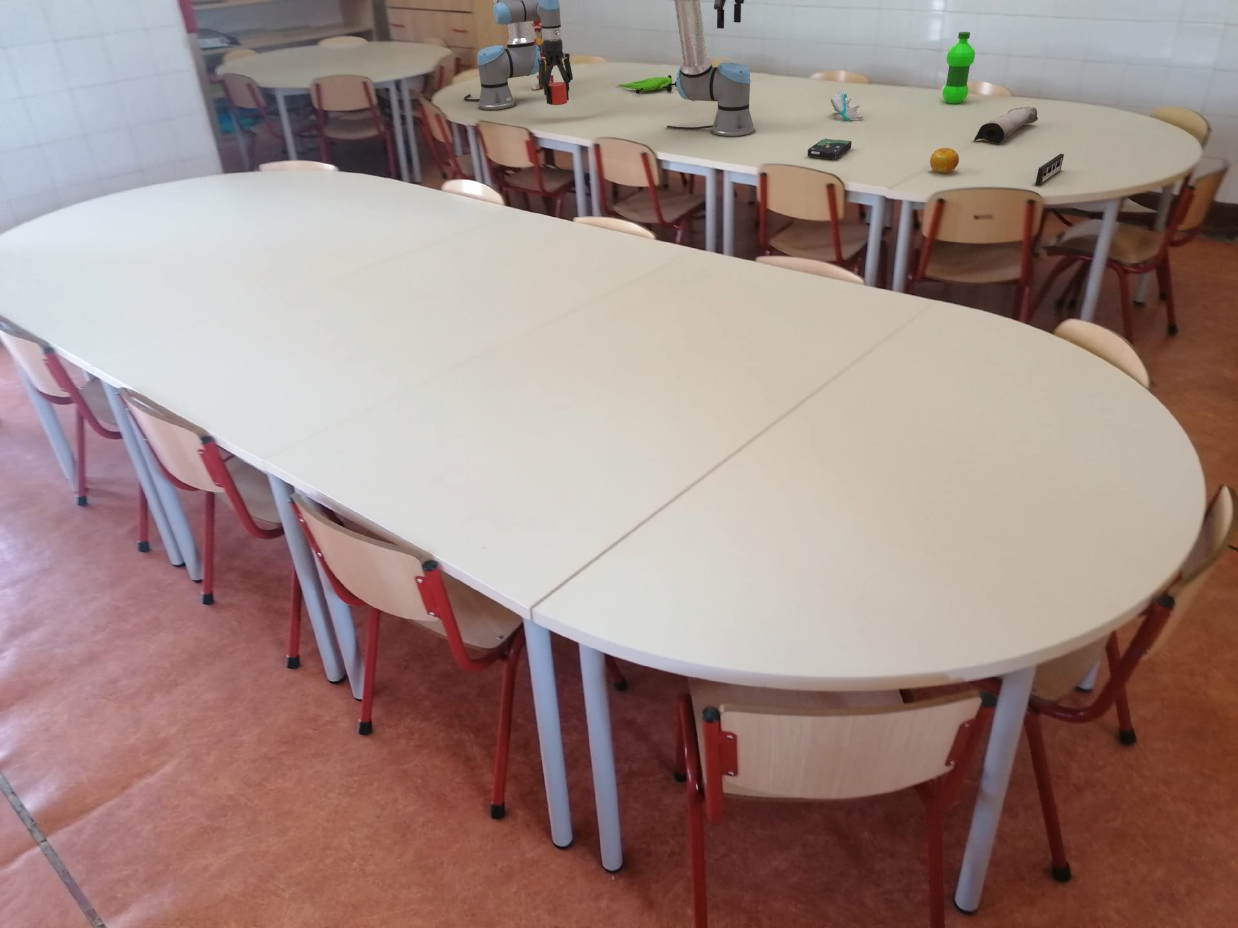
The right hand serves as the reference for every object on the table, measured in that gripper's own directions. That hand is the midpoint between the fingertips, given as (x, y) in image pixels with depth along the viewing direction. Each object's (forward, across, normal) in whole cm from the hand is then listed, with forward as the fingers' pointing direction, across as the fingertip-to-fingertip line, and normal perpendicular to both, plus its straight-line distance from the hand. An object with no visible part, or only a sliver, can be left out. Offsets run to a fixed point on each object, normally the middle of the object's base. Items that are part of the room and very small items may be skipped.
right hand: (729, 25), depth 349 cm
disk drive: (+31, +43, +63) cm, 82 cm away
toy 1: (+31, +1, -95) cm, 100 cm away
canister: (+24, +44, -53) cm, 73 cm away
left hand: (+23, +44, -53) cm, 73 cm away
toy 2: (+31, -17, -51) cm, 62 cm away
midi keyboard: (+31, +41, +133) cm, 143 cm away
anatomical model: (+31, -4, +49) cm, 58 cm away
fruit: (+31, +47, +103) cm, 118 cm away
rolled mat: (+31, -4, +109) cm, 113 cm away
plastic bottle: (+31, -41, +79) cm, 94 cm away
